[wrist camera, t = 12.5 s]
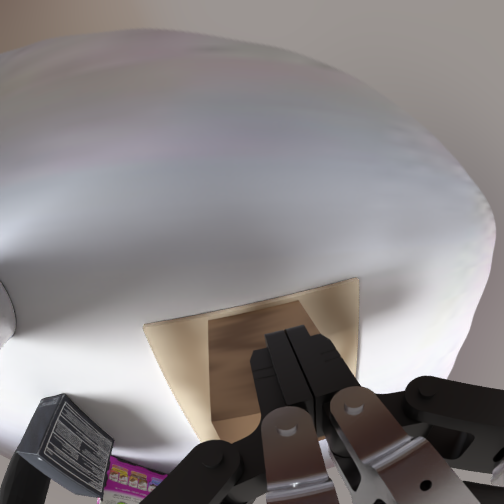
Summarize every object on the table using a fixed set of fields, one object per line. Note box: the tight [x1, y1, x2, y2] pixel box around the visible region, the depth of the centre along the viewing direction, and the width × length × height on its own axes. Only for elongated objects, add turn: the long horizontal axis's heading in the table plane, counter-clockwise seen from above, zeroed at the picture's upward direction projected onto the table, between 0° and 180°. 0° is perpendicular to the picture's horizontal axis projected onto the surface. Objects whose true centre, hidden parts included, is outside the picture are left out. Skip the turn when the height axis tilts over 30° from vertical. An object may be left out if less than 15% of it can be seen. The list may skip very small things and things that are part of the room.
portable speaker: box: [0, 444, 51, 504], centre depth 18 cm, size 9×9×20 cm
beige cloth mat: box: [143, 278, 359, 443], centre depth 27 cm, size 20×22×1 cm
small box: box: [16, 394, 114, 498], centre depth 21 cm, size 11×6×10 cm, turn 23°
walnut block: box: [208, 300, 326, 444], centre depth 19 cm, size 8×5×11 cm, turn 100°
